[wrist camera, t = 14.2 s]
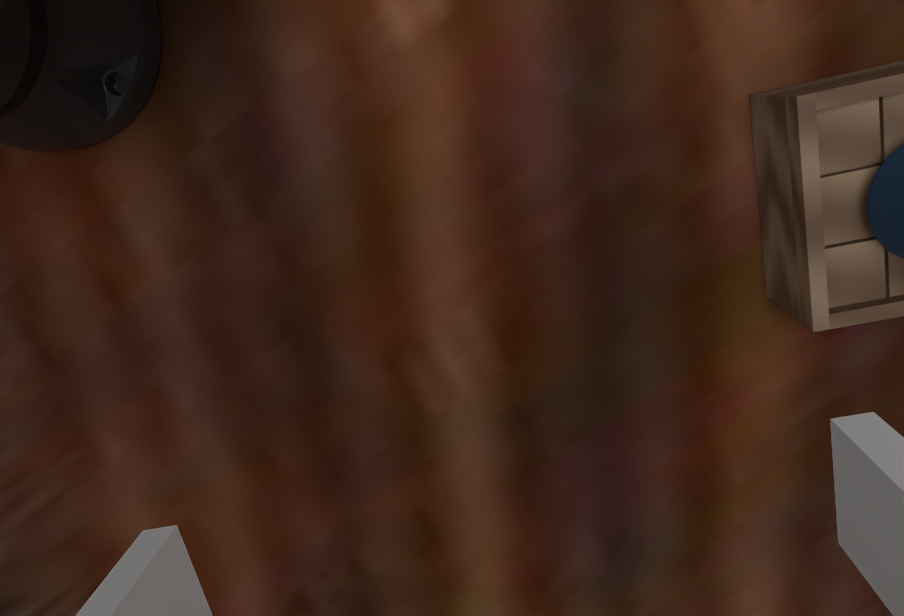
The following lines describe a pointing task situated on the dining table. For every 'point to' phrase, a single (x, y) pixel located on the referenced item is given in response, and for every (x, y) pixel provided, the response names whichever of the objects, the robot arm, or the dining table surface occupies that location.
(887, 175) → the soda can
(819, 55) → the dining table surface
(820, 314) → the wooden crate
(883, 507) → the robot arm
